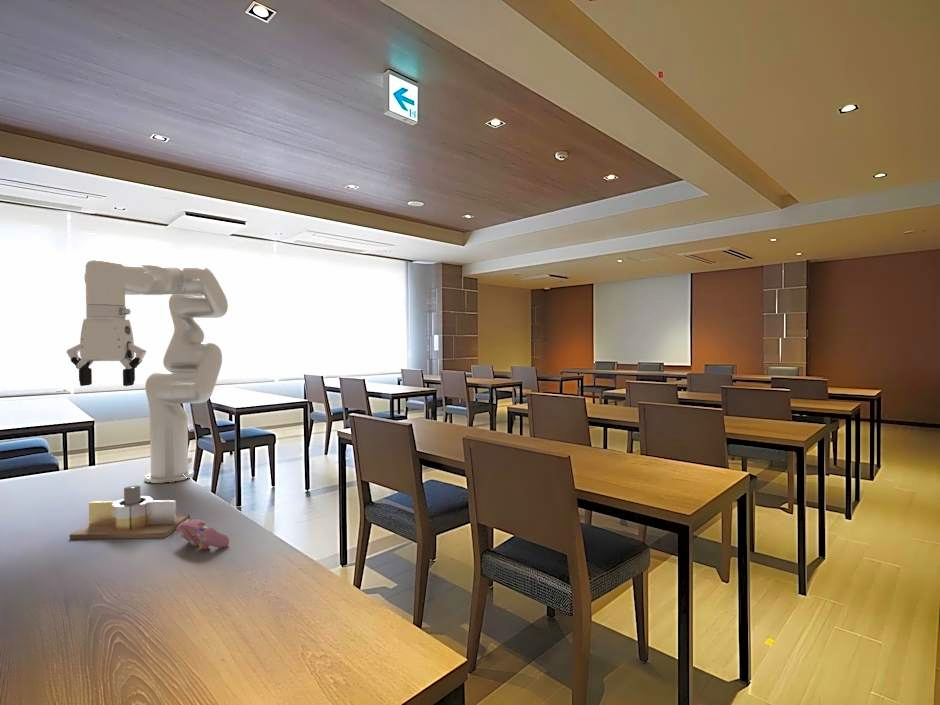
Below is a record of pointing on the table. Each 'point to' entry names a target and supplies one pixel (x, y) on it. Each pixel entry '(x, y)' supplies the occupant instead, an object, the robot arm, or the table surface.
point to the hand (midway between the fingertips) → (107, 385)
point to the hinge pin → (132, 495)
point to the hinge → (132, 513)
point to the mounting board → (142, 532)
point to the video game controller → (201, 534)
